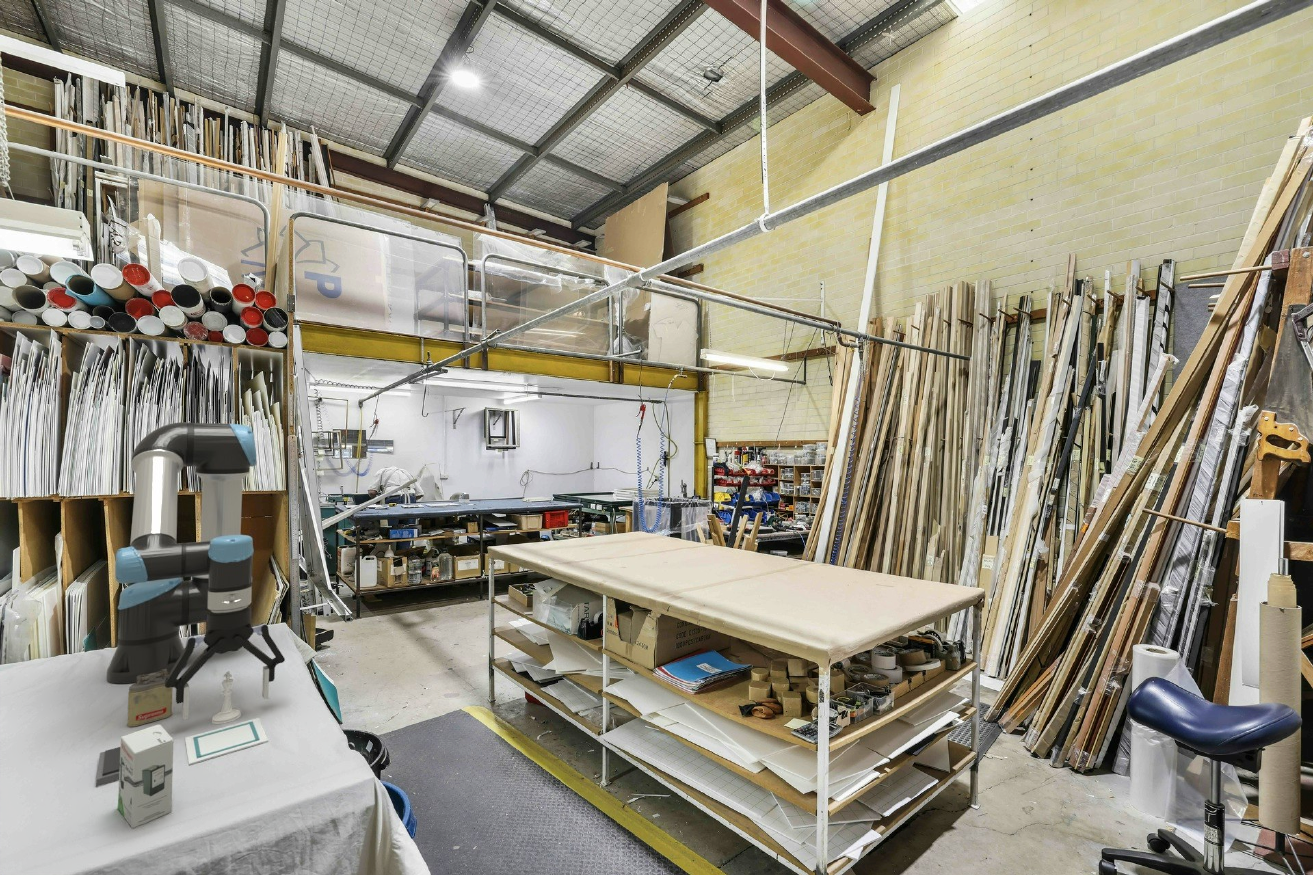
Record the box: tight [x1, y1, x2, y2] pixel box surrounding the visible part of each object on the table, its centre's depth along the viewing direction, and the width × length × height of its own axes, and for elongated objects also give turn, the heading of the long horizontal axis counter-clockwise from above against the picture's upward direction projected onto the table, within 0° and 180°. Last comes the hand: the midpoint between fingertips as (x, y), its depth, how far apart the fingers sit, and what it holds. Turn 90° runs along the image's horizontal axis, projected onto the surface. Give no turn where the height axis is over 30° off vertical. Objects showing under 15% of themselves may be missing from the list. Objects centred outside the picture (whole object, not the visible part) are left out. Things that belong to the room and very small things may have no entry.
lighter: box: [126, 669, 174, 727], centre depth 116 cm, size 7×4×10 cm, turn 140°
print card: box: [184, 717, 269, 766], centre depth 108 cm, size 12×12×1 cm
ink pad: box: [95, 746, 121, 787], centre depth 100 cm, size 11×8×2 cm
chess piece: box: [211, 671, 242, 725], centre depth 117 cm, size 5×5×10 cm
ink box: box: [117, 724, 175, 829], centre depth 88 cm, size 9×5×12 cm, turn 56°
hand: (226, 706), depth 117 cm, fingers open, 13 cm apart
